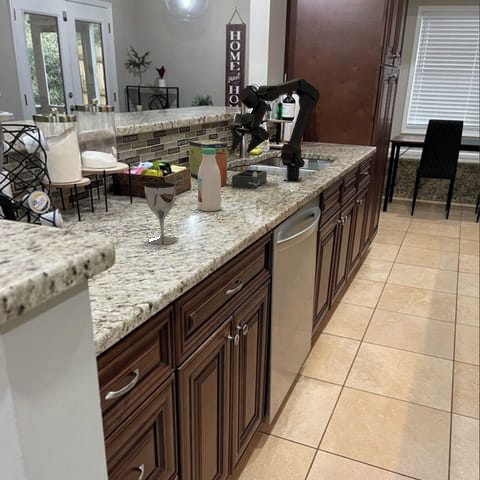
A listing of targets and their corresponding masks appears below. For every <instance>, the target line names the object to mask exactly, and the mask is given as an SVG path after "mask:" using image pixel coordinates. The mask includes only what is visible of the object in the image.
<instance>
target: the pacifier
mask: <svg viewBox="0 0 480 480" xmlns="http://www.w3.org/2000/svg"><path fill="white" fill-rule="evenodd" d="M252 177H257V173H256V172H254V173H253V175H252ZM248 183H249V184H254V185H255V188H257V187H256V185H259V184H260V181H259V180H258V183H257V184H255V183H251V182H248ZM259 186H260V185H259Z"/></svg>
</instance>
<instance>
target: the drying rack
mask: <svg viewBox="0 0 480 480" xmlns="http://www.w3.org/2000/svg"><path fill="white" fill-rule="evenodd" d="M254 172H256V173H257V177H252V175H253V173H254ZM267 174H268V171H267V170H262V169H244V170H242V171H240V172H238V173H237V172H236V173H234V174H233V175H231V188H240V189H242V188H243V189H250V190H253V189H255V188H257V187H259V186H261V185H263V184H265V183H266V182H267V178H268V177H267ZM258 180H259V181H260V184H259V185H256V187H255V185H254V184H249V183H248V182H251V183H255V184H257V183H258Z"/></svg>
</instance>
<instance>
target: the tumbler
mask: <svg viewBox="0 0 480 480" xmlns="http://www.w3.org/2000/svg"><path fill="white" fill-rule="evenodd" d="M215 159H216V163H217V165H218V168H219V170H220V176H221V187H225V186H227V184H228V183H227V182H228V180H227V179H228V152H227V153H224V152H216V156H215Z"/></svg>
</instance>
